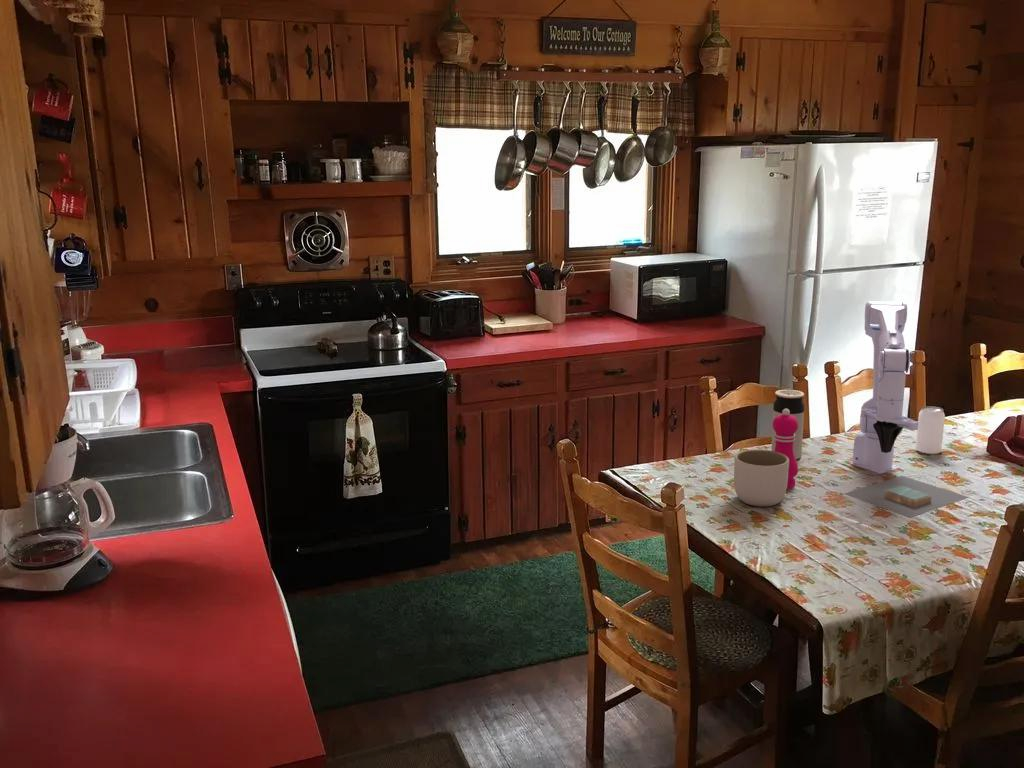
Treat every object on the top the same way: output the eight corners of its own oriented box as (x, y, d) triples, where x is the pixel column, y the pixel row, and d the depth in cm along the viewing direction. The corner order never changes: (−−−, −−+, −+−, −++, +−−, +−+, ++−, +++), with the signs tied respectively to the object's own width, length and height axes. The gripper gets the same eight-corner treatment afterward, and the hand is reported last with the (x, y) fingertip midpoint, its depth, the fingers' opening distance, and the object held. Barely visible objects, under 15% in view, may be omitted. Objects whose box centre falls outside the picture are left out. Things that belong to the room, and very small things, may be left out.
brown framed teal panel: (885, 490, 211) (915, 500, 204) (901, 485, 214) (931, 495, 207) (884, 497, 211) (914, 507, 204) (900, 491, 214) (930, 502, 207)
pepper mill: (781, 492, 217) (785, 414, 212) (760, 483, 223) (764, 407, 218) (803, 487, 220) (808, 410, 215) (782, 478, 226) (786, 403, 221)
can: (945, 454, 241) (949, 412, 238) (921, 454, 241) (925, 412, 238) (934, 447, 247) (938, 405, 244) (911, 447, 247) (915, 406, 244)
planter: (771, 515, 203) (773, 470, 201) (723, 502, 212) (724, 458, 209) (795, 499, 212) (798, 456, 210) (748, 487, 220) (750, 445, 218)
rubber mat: (843, 495, 214) (843, 493, 214) (901, 477, 225) (901, 475, 225) (910, 519, 199) (910, 517, 199) (968, 499, 210) (968, 497, 210)
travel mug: (776, 449, 248) (780, 387, 244) (805, 454, 244) (809, 391, 239) (766, 457, 242) (769, 394, 237) (795, 462, 237) (799, 398, 233)
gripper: (854, 394, 217) (850, 446, 220) (906, 407, 204) (901, 462, 208) (873, 389, 220) (869, 441, 223) (925, 402, 208) (920, 457, 211)
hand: (886, 451), depth 216 cm, fingers closed
